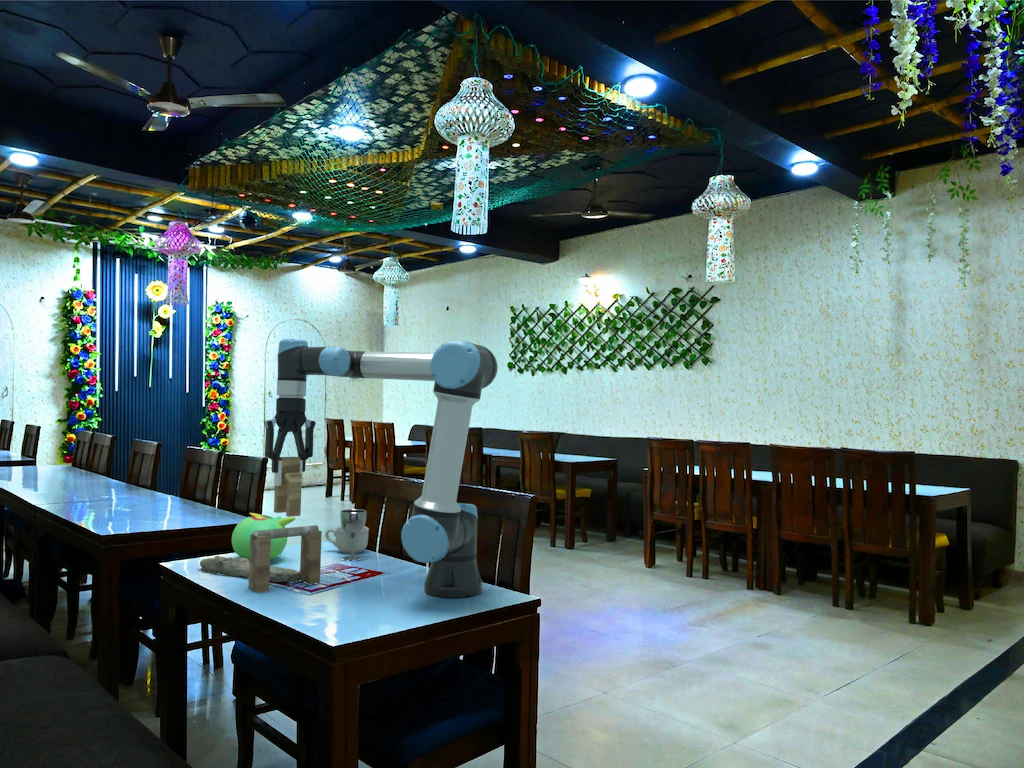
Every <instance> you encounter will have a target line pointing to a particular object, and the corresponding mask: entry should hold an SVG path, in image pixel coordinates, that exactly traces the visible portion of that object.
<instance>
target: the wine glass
mask: <svg viewBox="0 0 1024 768" xmlns="http://www.w3.org/2000/svg"><path fill="white" fill-rule="evenodd" d="M366 522H367V510H365V509H362V508H361V509H360V508H359V509H358V508H357V509H356V508H352V509H351V508H350V509H349V508H348V509H347V508H346V509H341V510H340V526H342V529H343V531H344V532H345V533H346V534H347V535H348V537H349V539H350V542H351V554H349V555H347V556H343V557H341V558H342V559H344V560H358V559H361V558H362V556H357V555H355V554H354V543H355V539H356V538H357V536H358V535H359V534H360V533H361V531H362V530H363V529H364V526H365V527H366V525H365V524H366Z"/></svg>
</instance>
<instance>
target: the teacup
mask: <svg viewBox="0 0 1024 768" xmlns="http://www.w3.org/2000/svg"><path fill="white" fill-rule="evenodd" d="M369 531H370V528H369V527H367V526H366V525H365V526H364V529H363V530H362V531H361V533H360V534H359V535H358V536H357V538H356V539H355V543H354V553H355V554H360V553H362V552H363V550H365V549H366V548H367V546H368V542H369ZM330 532H332V533H333V534H334V537H335V539H334V540H333V539H332V538H330V536H329V534H330ZM324 535H325V536H324V537H325V539H326V540H327V541H328V542H329V543H331V544H332V545H333V546H334V547H336V548H337V549H338V551H340V552H341V553H342V552H343V553H342V554H347V553H351V542H350V539H349V537H348V535H347V534H346V533H345V532H344V531H343V529H342V526H341V525H340V526H337V527H336V528H328V529H327V530H326V531H325V534H324ZM359 552H360V553H359Z"/></svg>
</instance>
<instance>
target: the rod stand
mask: <svg viewBox="0 0 1024 768" xmlns="http://www.w3.org/2000/svg"><path fill="white" fill-rule="evenodd" d="M322 532H323V531H322V530H320V529H319V526H318V525H317V524H316V525H315V524H314V525H313V524H312V525H303V526H296V527H295V526H294V527H285V528H281V529H270V530H259V531H254V533H253V534H250V560H249V578H248V590H251V591H253V592H254V591H255V592H254V593H256V592H257V594H261V593H267V591H268V592H270V582H269V577H270V566H271V560H270V549H271V539H274V538H284V537H287V538H293V537H300V538H301V539H300V560H299V563H300V565H299V566H300V567H299V573H300V580H301V581H303V582H306V583H308V584H315V583H320V584H321V567H322V566H321V565H322V564H321V560H322ZM301 581H300V582H301ZM303 582H302V583H303ZM308 584H307V585H308ZM315 585H316V584H315ZM260 592H261V593H260Z"/></svg>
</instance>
